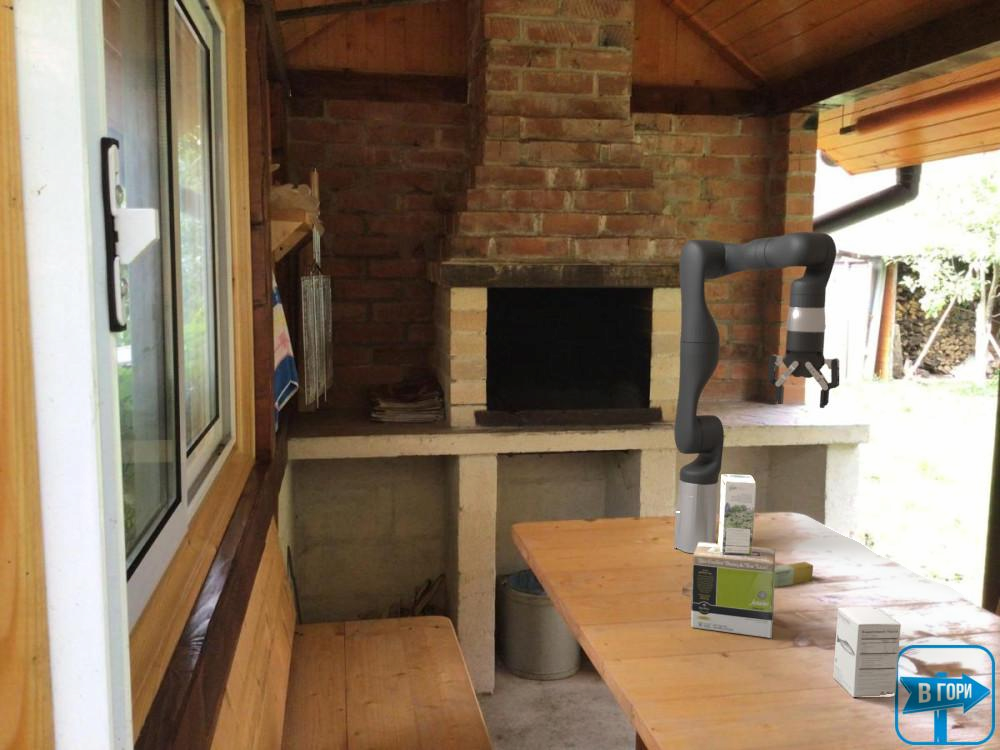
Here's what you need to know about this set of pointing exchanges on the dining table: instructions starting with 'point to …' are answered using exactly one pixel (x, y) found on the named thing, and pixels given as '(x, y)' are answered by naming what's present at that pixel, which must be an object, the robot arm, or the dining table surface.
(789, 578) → the medication box
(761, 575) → the tea box
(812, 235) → the robot arm
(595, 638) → the dining table surface
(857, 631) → the supplement box
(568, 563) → the dining table surface
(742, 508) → the syrup box
